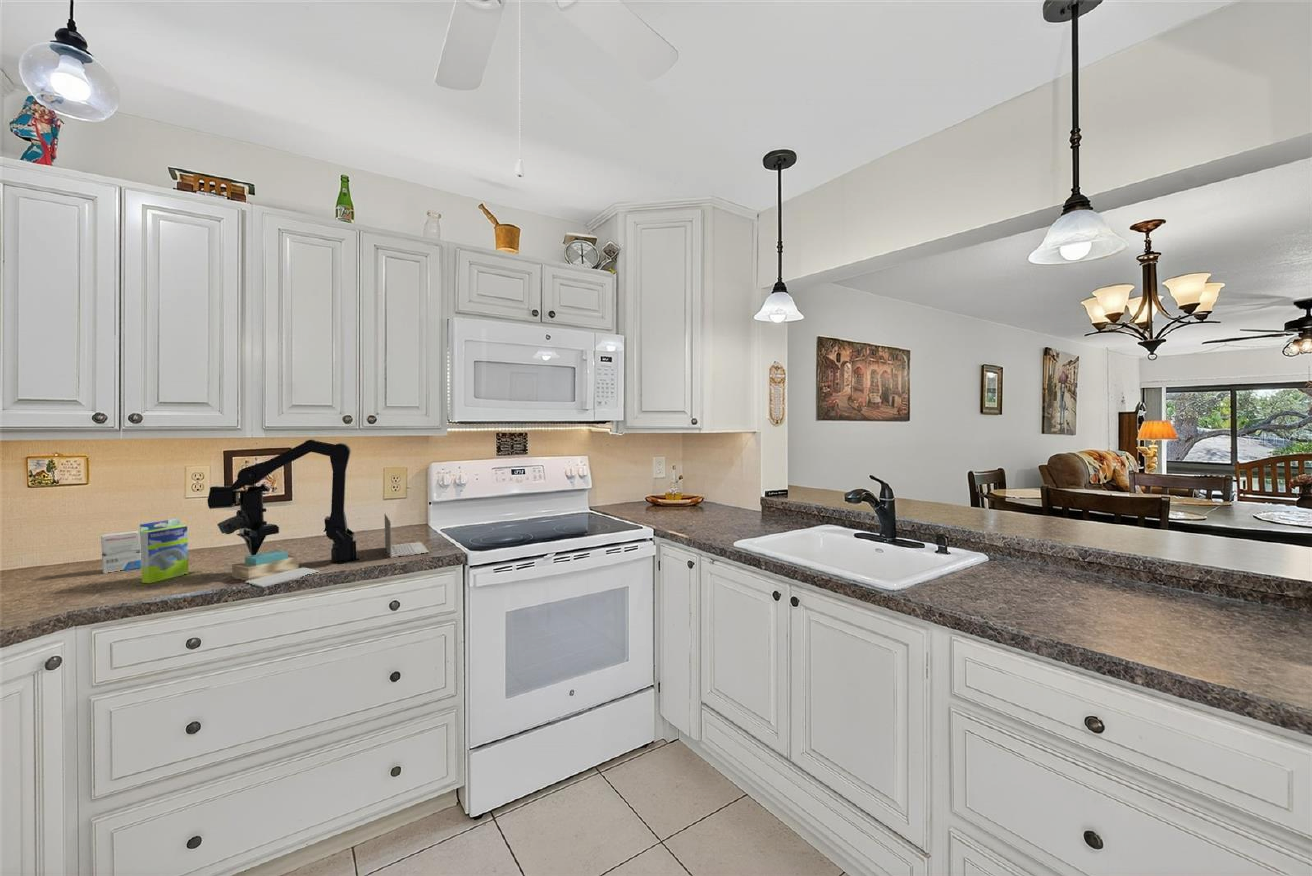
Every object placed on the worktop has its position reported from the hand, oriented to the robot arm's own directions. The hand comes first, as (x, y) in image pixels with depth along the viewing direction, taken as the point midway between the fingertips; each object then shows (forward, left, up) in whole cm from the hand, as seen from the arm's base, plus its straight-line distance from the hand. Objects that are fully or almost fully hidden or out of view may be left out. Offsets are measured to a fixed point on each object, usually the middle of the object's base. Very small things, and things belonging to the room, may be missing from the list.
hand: (253, 555), depth 165 cm
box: (+16, -15, -5) cm, 23 cm away
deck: (0, +7, -5) cm, 9 cm away
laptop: (-39, +21, -5) cm, 44 cm away
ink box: (+18, -39, -5) cm, 44 cm away
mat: (0, +16, -5) cm, 17 cm away
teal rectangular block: (0, +8, -1) cm, 8 cm away
